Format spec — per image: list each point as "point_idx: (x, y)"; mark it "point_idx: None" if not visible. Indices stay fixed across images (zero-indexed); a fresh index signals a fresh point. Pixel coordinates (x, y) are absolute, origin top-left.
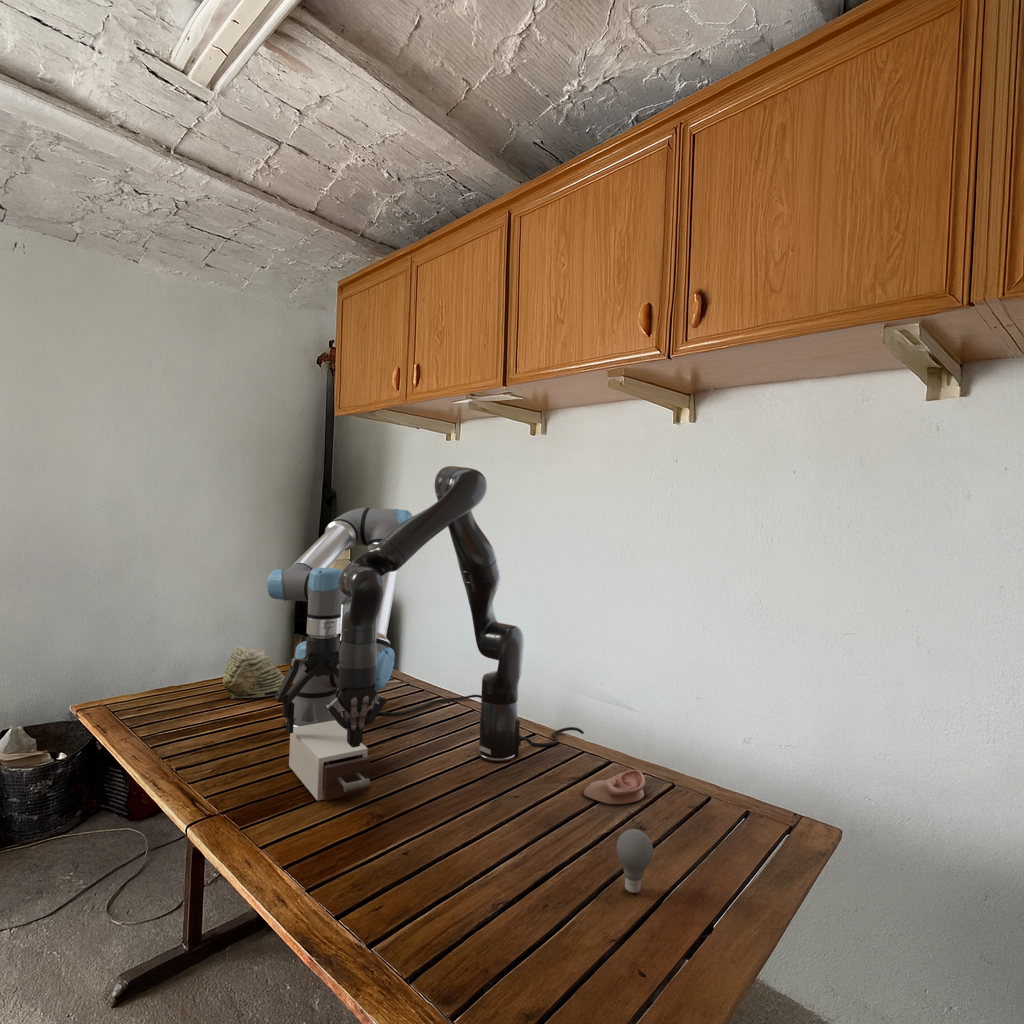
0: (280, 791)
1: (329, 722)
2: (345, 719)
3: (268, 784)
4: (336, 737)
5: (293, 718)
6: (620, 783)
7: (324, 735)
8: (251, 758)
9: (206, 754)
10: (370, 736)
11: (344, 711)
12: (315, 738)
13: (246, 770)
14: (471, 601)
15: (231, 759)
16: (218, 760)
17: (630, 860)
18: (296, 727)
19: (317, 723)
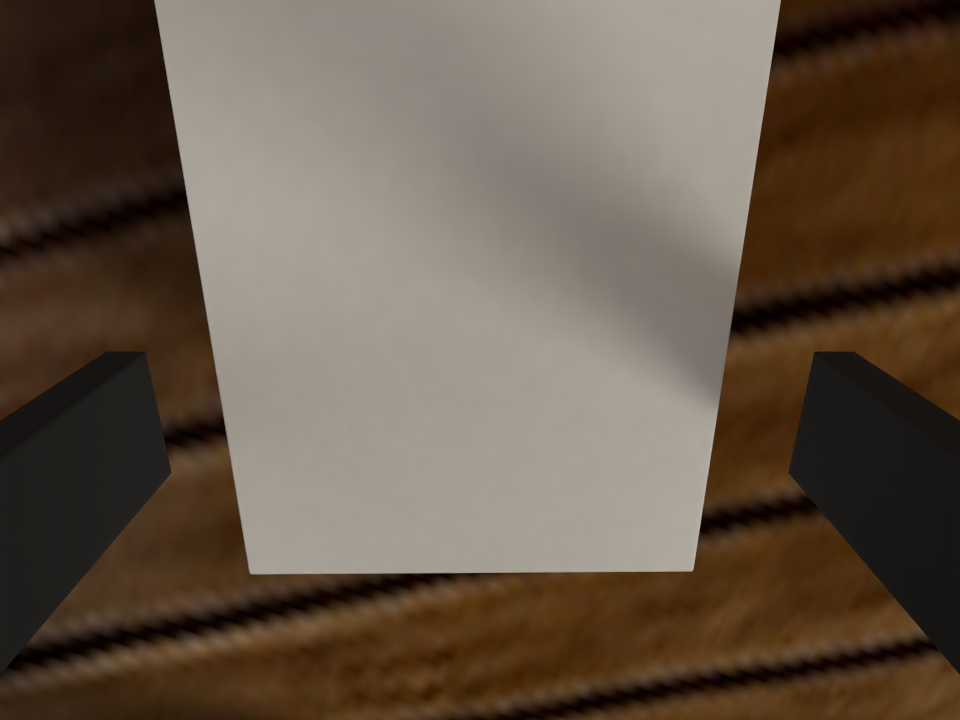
0: (811, 67)
1: (318, 544)
2: (151, 444)
3: (823, 217)
4: (372, 91)
5: (931, 433)
6: None
7: (478, 230)
8: (744, 590)
9: (898, 715)
10: None
11: (115, 535)
12: (600, 188)
13: None
14: None
15: (831, 620)
16: (887, 635)
17: None
18: (641, 559)
19: (432, 567)
